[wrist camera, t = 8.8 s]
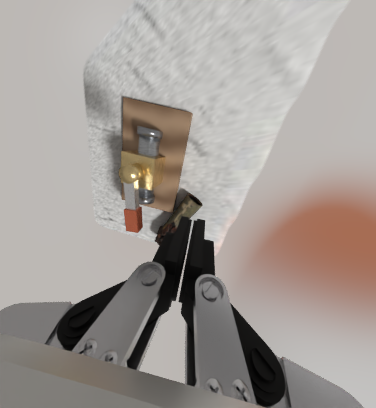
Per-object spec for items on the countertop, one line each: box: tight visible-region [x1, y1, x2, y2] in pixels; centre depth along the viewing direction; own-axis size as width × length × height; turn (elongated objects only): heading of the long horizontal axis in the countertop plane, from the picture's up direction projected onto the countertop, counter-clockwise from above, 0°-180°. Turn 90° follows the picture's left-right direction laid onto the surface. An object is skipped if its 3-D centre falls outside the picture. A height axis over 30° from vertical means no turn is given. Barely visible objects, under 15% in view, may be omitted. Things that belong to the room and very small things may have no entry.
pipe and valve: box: [121, 126, 166, 205], centre depth 31 cm, size 16×7×7 cm, turn 168°
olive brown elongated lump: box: [155, 194, 202, 246], centre depth 38 cm, size 18×7×6 cm, turn 143°
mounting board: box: [122, 97, 193, 213], centre depth 34 cm, size 24×15×2 cm, turn 168°
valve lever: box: [119, 164, 144, 233], centre depth 27 cm, size 14×3×3 cm, turn 175°
